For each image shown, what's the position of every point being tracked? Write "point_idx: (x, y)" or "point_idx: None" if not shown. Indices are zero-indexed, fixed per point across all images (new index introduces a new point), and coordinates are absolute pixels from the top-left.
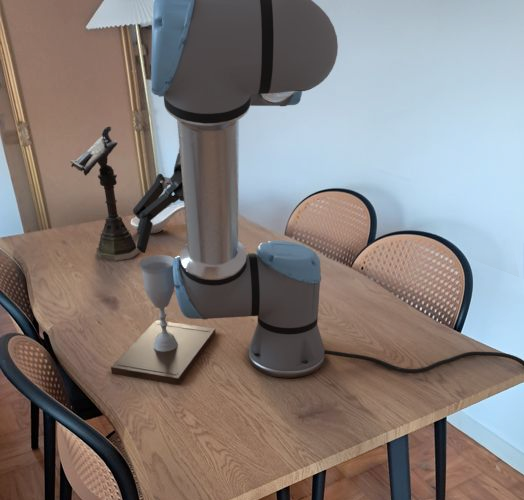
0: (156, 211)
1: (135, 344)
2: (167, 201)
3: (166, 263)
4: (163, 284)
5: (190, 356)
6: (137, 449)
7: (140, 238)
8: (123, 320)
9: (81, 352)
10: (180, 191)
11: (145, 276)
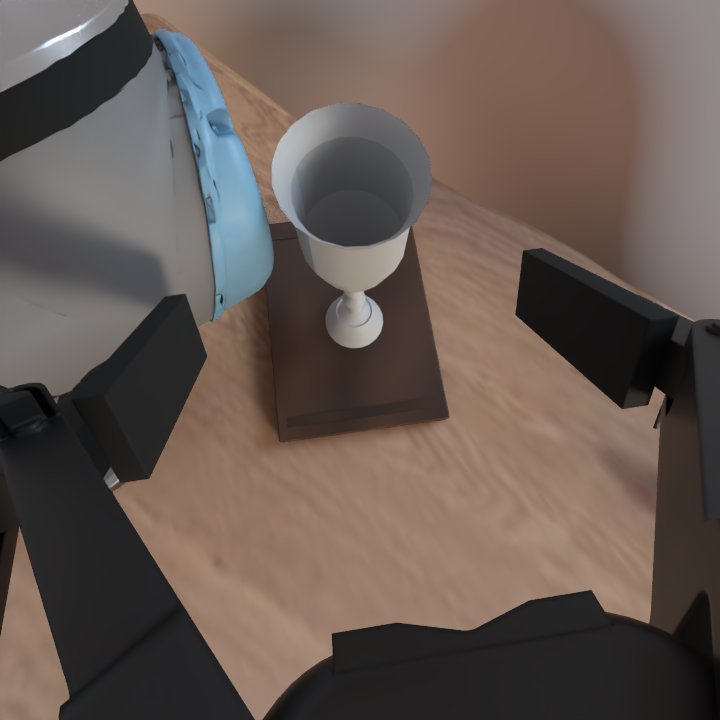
0: (673, 432)
1: (419, 296)
2: (677, 535)
3: (350, 250)
4: (308, 185)
5: (276, 301)
6: (243, 86)
7: (557, 261)
8: (541, 409)
9: (517, 253)
10: (598, 690)
11: (369, 149)
